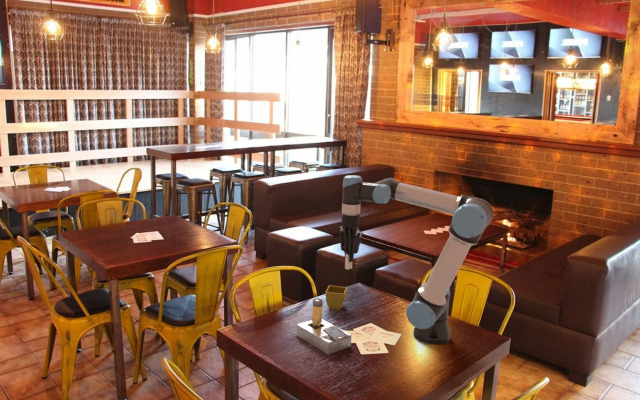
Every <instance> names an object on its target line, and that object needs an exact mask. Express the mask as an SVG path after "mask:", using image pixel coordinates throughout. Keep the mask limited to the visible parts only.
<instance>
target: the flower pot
mask: <svg viewBox="0 0 640 400" xmlns="http://www.w3.org/2000/svg"><path fill="white" fill-rule="evenodd" d="M347 290H348V287H346V286H337V285H328V286H327V289H326V290H325V301H326V305H327V308H328V309H330V310H337V311H338V310H339V311H340V310H341V309H342V307H343V304H344V302H345V300H346V296H347Z"/></svg>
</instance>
